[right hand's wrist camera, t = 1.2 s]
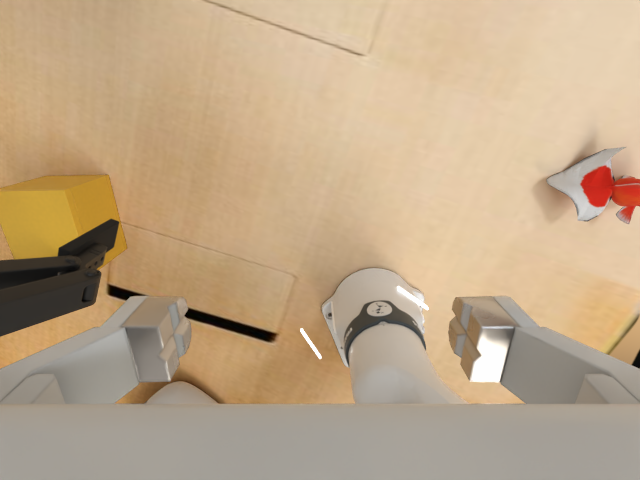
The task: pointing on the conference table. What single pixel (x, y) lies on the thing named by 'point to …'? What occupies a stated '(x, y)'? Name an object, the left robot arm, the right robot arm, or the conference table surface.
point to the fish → (597, 186)
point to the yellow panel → (38, 221)
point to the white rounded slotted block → (180, 395)
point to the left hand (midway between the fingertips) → (34, 204)
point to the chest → (86, 202)
